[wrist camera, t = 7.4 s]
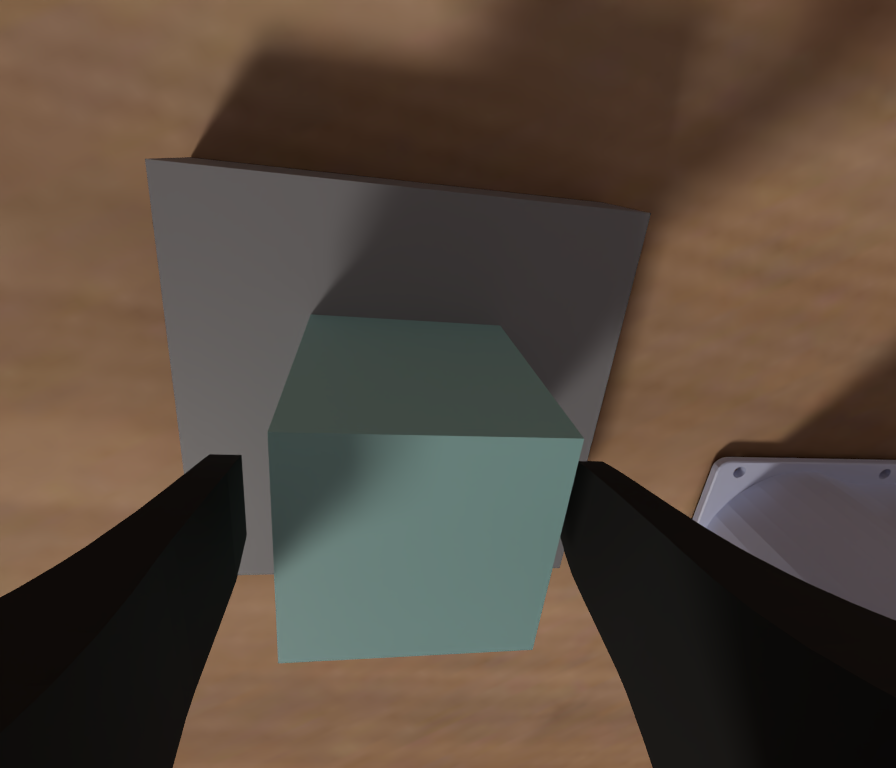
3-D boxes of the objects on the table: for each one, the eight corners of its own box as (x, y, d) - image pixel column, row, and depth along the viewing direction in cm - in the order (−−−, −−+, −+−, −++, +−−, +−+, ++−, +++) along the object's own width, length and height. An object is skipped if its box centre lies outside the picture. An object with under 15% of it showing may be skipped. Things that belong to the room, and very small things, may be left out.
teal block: (500, 325, 14) (584, 438, 8) (476, 478, 16) (532, 649, 10) (310, 314, 13) (267, 431, 7) (311, 477, 15) (278, 663, 10)
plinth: (602, 202, 16) (651, 213, 13) (534, 513, 21) (559, 567, 18) (189, 157, 14) (144, 158, 11) (221, 514, 18) (196, 575, 16)
